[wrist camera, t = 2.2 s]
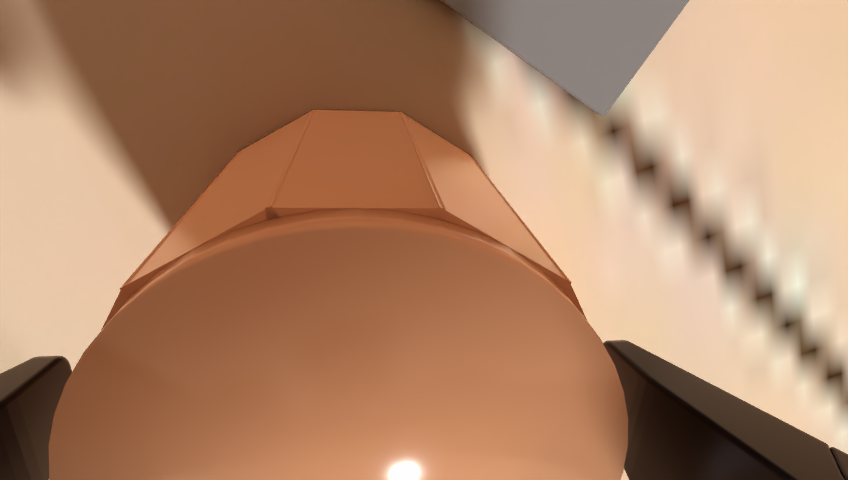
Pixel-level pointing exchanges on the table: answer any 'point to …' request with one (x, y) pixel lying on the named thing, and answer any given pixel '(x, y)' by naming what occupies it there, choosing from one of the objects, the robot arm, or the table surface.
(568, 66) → the charcoal mat
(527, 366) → the terracotta cup
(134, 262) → the table surface
